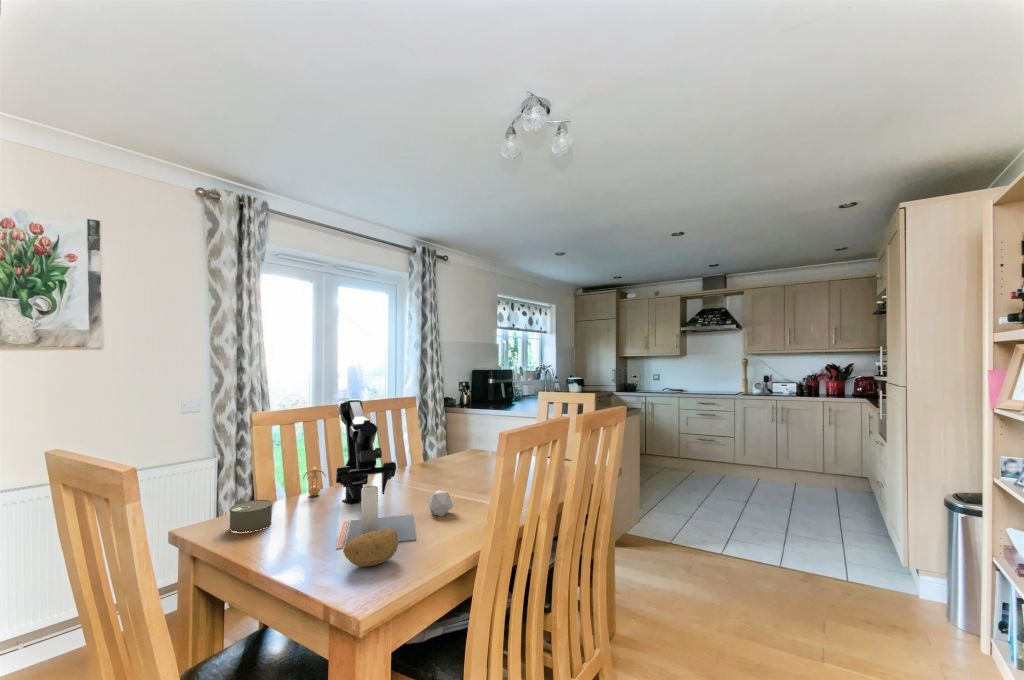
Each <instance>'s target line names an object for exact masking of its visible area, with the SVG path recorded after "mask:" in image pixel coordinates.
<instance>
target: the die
mask: <svg viewBox="0 0 1024 680" xmlns="http://www.w3.org/2000/svg"><path fill="white" fill-rule="evenodd" d="M426 502H427V505H428V509H429V511H430V513H431V514H432V515H434V516H437V515H438V517H441V518H442V517H444V516H445V515H446V514H447V513H448V511H450V510H451V509H452V508H453V507H454V505H453V502H452V499H451V495H450V493H449V492H448V491H445V490H440V489H437V490H436V491H435V492H434V493H433V494H432V495H430V497H428V498H427V499H426Z"/></svg>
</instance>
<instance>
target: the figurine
mask: <svg viewBox="0 0 1024 680" xmlns="http://www.w3.org/2000/svg"><path fill="white" fill-rule="evenodd" d="M318 472H319V473H322V474H323V476H324V478H326V477H327V475H326V474H325V472H324V471H323V470H320V469H319V468H317V466H315V465H314V466H313V467H312V469H311V470H308V471H306V472H305V473H304V475H303V477H302V480H304V479H305V477H306V475H307V474H309V473H311V475H310V480H311V481H310V482H311V486H310V488H309V489H308V493H309V495H310V496H314V497H315V496H317V495H319V493H320V491H321V488H320V486H319V485H318V482H319V481H318V479H319V475H317V474H318ZM314 480H316V481H315V484H314Z"/></svg>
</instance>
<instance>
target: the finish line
mask: <svg viewBox="0 0 1024 680" xmlns="http://www.w3.org/2000/svg"><path fill="white" fill-rule="evenodd" d="M349 524H350V523H349V520H346V521H345V520H344V521H343V523H342V526H341V529H340V533H339V537H338V539H337V540H338V541H337V544H336V548H335V550H342V549H343V547H344V543H345V539H346V534H347V531H348V526H349Z"/></svg>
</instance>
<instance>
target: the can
mask: <svg viewBox="0 0 1024 680" xmlns="http://www.w3.org/2000/svg"><path fill="white" fill-rule="evenodd" d="M272 510H273V501H271V500H269V499H253V500H247V501H243V502H242V501H241V502H239V503H237V504H236V503H235V504H234V505H231V506H230V507H229V530H230V529H231V530H232V531H237V532H245V531H246V532H247V531H249V532H250V531H255V530H260V529H263V528H266V527H268V526H269V527H270V526H271V525H272V518H273V517H272V515H273V514H272ZM269 527H268V528H269ZM266 529H267V528H266Z"/></svg>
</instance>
